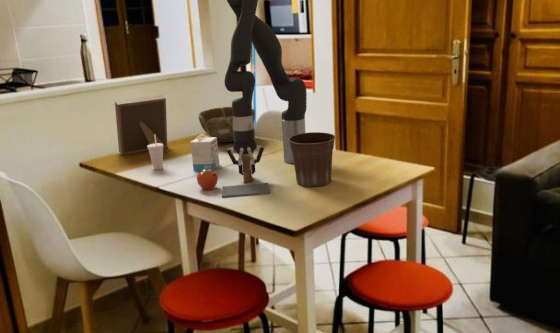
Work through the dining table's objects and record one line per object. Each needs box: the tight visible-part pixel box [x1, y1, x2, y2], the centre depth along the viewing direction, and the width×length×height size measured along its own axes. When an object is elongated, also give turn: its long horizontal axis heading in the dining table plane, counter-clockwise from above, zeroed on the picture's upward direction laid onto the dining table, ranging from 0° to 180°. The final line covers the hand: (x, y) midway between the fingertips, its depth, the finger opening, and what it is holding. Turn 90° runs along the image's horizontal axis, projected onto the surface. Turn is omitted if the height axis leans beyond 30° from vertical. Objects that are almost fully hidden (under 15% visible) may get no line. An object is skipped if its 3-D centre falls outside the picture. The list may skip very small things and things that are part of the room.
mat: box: [221, 182, 271, 199], centre depth 178 cm, size 16×10×1 cm, turn 95°
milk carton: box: [189, 133, 220, 171], centre depth 207 cm, size 9×8×13 cm
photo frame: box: [114, 94, 168, 156], centre depth 236 cm, size 15×22×25 cm
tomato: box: [196, 167, 219, 191], centre depth 182 cm, size 7×7×8 cm
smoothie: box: [147, 134, 164, 170], centre depth 210 cm, size 6×6×14 cm
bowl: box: [198, 106, 256, 143], centre depth 249 cm, size 28×27×15 cm
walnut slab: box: [242, 154, 253, 184], centre depth 188 cm, size 3×7×10 cm, turn 5°
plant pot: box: [288, 131, 337, 188], centre depth 181 cm, size 16×16×16 cm
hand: (247, 174), depth 189 cm, fingers open, 3 cm apart
